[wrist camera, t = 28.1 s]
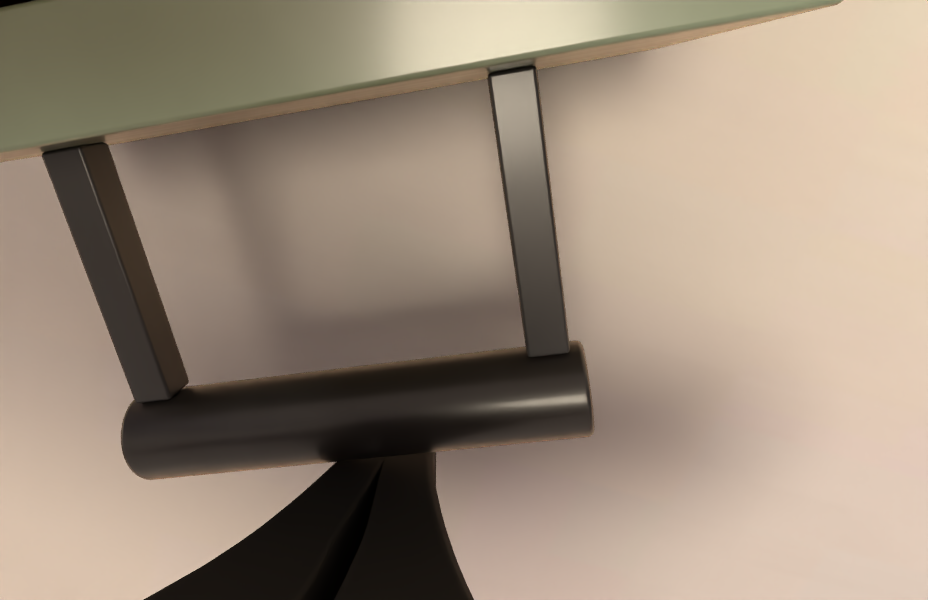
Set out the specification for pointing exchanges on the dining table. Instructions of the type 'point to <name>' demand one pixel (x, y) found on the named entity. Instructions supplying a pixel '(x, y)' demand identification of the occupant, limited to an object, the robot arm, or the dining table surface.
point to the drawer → (299, 89)
